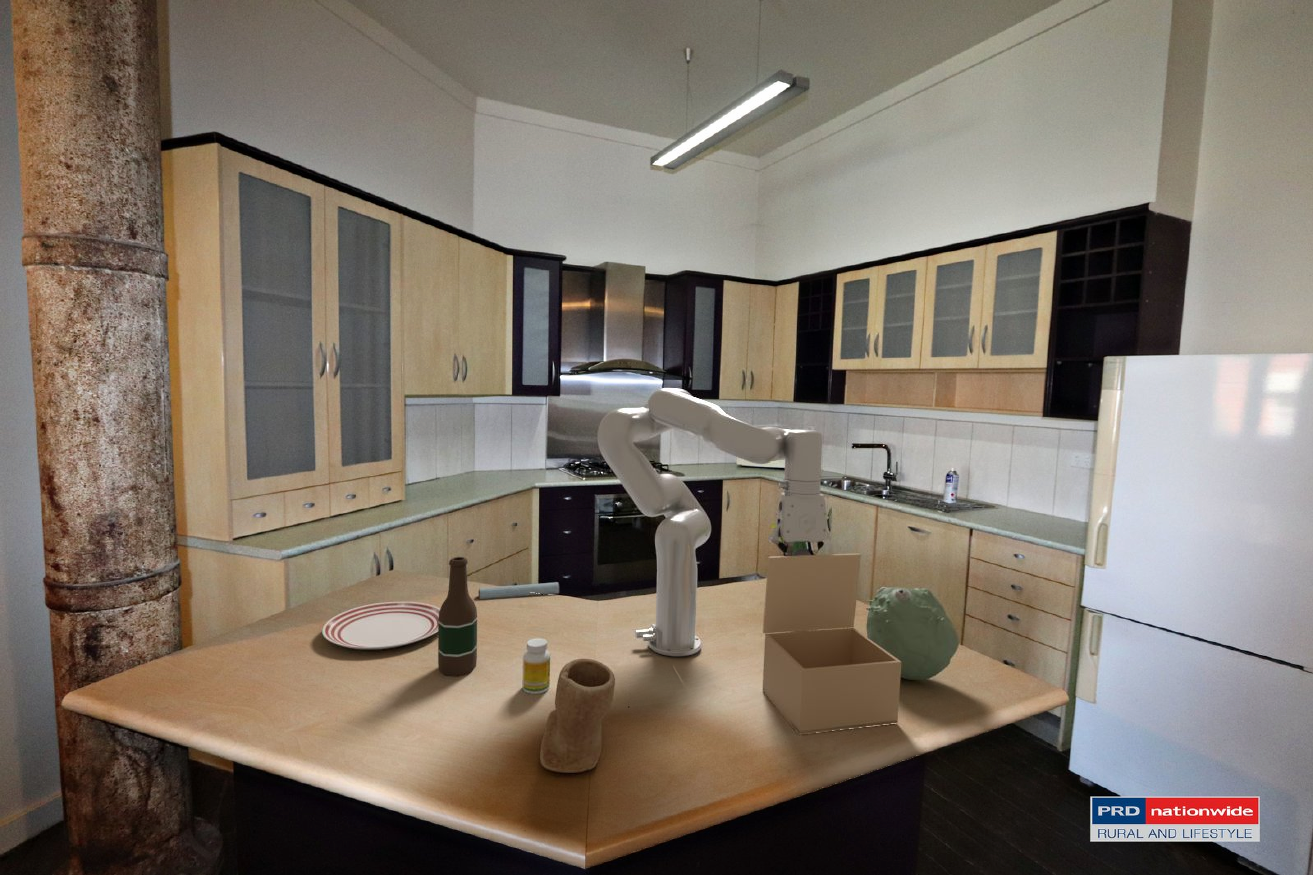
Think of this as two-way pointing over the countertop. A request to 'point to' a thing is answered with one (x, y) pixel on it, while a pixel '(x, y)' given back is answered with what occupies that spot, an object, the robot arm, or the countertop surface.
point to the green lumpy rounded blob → (912, 630)
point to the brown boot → (577, 717)
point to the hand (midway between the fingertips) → (798, 570)
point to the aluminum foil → (518, 590)
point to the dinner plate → (382, 625)
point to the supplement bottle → (536, 667)
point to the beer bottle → (457, 625)
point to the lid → (811, 592)
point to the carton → (831, 680)
